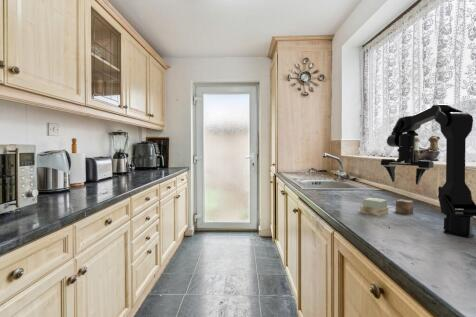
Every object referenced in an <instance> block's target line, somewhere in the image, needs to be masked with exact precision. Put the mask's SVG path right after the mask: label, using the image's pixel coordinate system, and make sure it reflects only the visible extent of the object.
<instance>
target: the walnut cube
mask: <svg viewBox="0 0 476 317" xmlns="http://www.w3.org/2000/svg"><path fill="white" fill-rule="evenodd" d="M414 202H415V201H414V200H409V199H401V198H400V199H396V200H395V213H400V214H405V215H410V214H413V213H414Z"/></svg>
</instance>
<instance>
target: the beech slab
mask: <svg viewBox="0 0 476 317" xmlns="http://www.w3.org/2000/svg"><path fill="white" fill-rule="evenodd" d="M359 212H360V213H363V214H366V215H367V214H368V215H373V216H378V217H381V216H384V215H387V214H389V207H388V206H387V207H386V208H382V209H375V208H370V207H365V206H363V205H361V206H359Z"/></svg>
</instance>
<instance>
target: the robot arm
mask: <svg viewBox="0 0 476 317" xmlns="http://www.w3.org/2000/svg"><path fill="white" fill-rule="evenodd" d="M431 121H435V122H436V123H438V124H439V127H440V132H441V134H442V135H443V137H444V138H445V142H446V143H445V144H446V145H445V146H446V147H445V148H446V149H445V150H446V152H445V156H446V157H445V158H446V160H445V182H444V184H443V185H442V186H441V185H440V186H438V189H437V190H438V191H437V192H438V193H437V194H438V196H437V199H438V202H439V206H440V212H441V214H444V215H446V216H444V218H443V233H446V234H449V235H450V234H451V235H455V236H459V237H464V238H470V237H472V236H473V235H474V234H475V232H473V224H474V223H473V222H474V217H476V203H475V201H474V200H473V196H472V190H471V189H470V187H469V186H468V184H467V183H466V139H467V138H468V137H469V135H470V134H471V132H472V130H473V123H474V116H473V115H471V114H470V113H469V112H464V111H463V110H461V109H460V110H459V109H458V108H454V107H452V106H451V105H450V104H447V103H436V104H433V105H432V106H431V107H428V108H426V109H424V110H421V111H420V112H418V113H415V114H413V115H409V116H408V115H407V116H401V117H399V118H398V120H397V121H396V122H395V125H394V127H393V128H392V131H391V134H390V135H389V136H388V137H387V139H386V144H387V145H388V146H389V147H391V148H393V147H394V148H398V149H397V150H396V151H397V152H398V157H397V158H396V160H395V158H382V159H381V160H380V166H383V168H385V170H386V171H387V172H388V174H389V177H390V179H391V182H392V183H395V182H396V181H395V179H396V177H395V176H396V171H395V169H396V167H397V166H413V167H414V166H415V167H417V168H416V172H415V185H419V184H420V181H421V179H422V177H423V174H425V172H426V171H428V170H430V169H433V168H434V162H433V160H420V155H418V154H417V153H416V149H415V143H416V142H415V141H416V137H418V136H419V133H417V130H419V129H420V128H421V126H422V125H424V124H426V123H429V122H431Z"/></svg>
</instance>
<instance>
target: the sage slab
mask: <svg viewBox="0 0 476 317" xmlns="http://www.w3.org/2000/svg"><path fill="white" fill-rule="evenodd" d="M362 206H365V207H370V208H375V209H382V208H386V207H388V199H384V198H383V199H382V198H376V197H365V198H363V199H362Z"/></svg>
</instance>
